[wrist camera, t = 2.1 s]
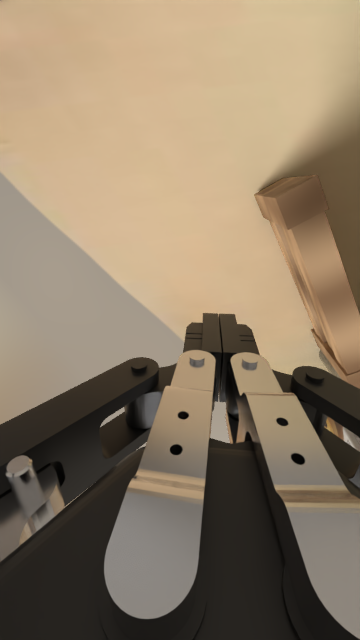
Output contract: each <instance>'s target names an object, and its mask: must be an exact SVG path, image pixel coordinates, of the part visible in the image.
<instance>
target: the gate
mask: <svg viewBox="0 0 360 640" xmlns="http://www.w3.org/2000/svg"><path fill="white" fill-rule="evenodd" d="M254 196H255V198H256V201H257V203H258V205H259V208H260V210H261V212H262V215H263V217H264V218H266V219H268V220H269V221H270V223H271V226H272V228H273V231H274V233H275V236H276V238H277V240H278V243H279V245H280V248H281V250H282V252H283V255H284V257H285V260H286V262H287V264H288V267H289V269H290V272H291V274H292V276H293V279H294V281H295V284H296V286H297V288H298V291H299V293H300V296H301V298H302V300H303V303H304V305H305V308H306V310H307V312H308V315H309V317H310V320H311V322H312V325H313V327H314V329H311V331H312V333H313V336H314V338H315V341H316V343H317V345H318V347H319V348H320V349H321V351H322V352H323V354H324V355H325V356H326V358H327V359H328V361H329V362H330V363H331V365H332V366H333V367H334V369H335V370H336V372H337V373H338V374H339V376H340V377H341V379H342V380H344V381H345V382H347V383H349V384H351V385H353V386H355V387H357V388H359V389H360V314H359V311H358V308H357V305H356V302H355V299H354V296H353V293H352V291H351V288H350V285H349V282H348V279H347V276H346V273H345V270H344V267H343V264H342V261H341V258H340V255H339V252H338V249H337V246H336V243H335V240H334V237H333V234H332V231H331V228H330V225H329V222H328V219H327V216H326V213H325V211H326V210H328V209H329V208H328V205H327V202H326V199H325V196H324V193H323V190H322V187H321V184H320V181H319V178H318V175H311V176H301V177H291V178H282V179H281V180H279V181H277V182H275V183H274V184H272V185H270V186H268V187H267V188H265V189H263V190H261V191H260V192H258V193H256V194H255V195H254Z"/></svg>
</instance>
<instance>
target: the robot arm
mask: <svg viewBox="0 0 360 640" xmlns="http://www.w3.org/2000/svg"><path fill="white" fill-rule="evenodd" d="M218 394H219V400H220V402H226V414H225V419H226V424H227V430H228V435H229V441H230V443H225V442H222V441H218V440H215V439H211V438H210V433H211V420H212V411H213V410H214V402H215V401H217V402H218ZM123 407H124V408H125V412H123V413H122V414H120V415H119V416H117V417H116V418H114V419H113V420H111V421H110V422H108V423H106V424H105V425H103V426H102V427H100V426H101V423H102V422H103V421H104V420H105V419H106V418H107V417H108V416H110V415H111V414H113V413H115V412H116V411H118V410H119V409H121V408H123ZM327 417H329V418H331V419H332V420H334V421H336V422H337V423H339V424H340V425H342V426H343V427H345V428H346V429H348V430H349V431H351V432H352V433H354V434H355V435H357V436H358V437H359V438H360V389H359V388H357V387H355V386H353V385H351V384H349V383H347V382H345V381H344V380H342V379H340V378H338V377H336V376H334V375H332V374H330V373H328V372H327V371H324V370H322V369H320V368H316V367H311V366H301V367H298V368H296V369H295V370H294V371H293V374H292V375H288V374H284V373H280V372H277V371H274V370H272V369H271V367H270V365H269V363H268V361H267V360H266V359H265V358H264V357H262V356H260V354H259V351H258V348H257V345H256V342H255V339H254V336H253V332H252V330H251V329H250V328H249V327H248V326H247V325H243V324H237V322H236V318H235V314H219V317H218V314H213V313H203V323H191V324H190V325H189V326H188V327H187V329H186V336H185V343H184V350H183V354H181V355H180V357H179V359H178V362H177V363H176V364H174V365H171V366H168V367H161V368H159V366H158V364H157V362H156V361H154V360H152V359H149V358H143V357H140V358H133V359H130V360H128V361H126V362H124V363H122V364H120V365H118V366H116V367H114V368H112V369H110V370H108V371H106V372H104V373H102V374H100V375H98V376H96V377H94V378H92V379H90V380H88V381H86V382H84V383H82V384H80V385H78V386H77V387H74V388H72V389H70V390H68V391H66V392H65V393H62V394H60V395H58V396H56V397H54V398H53V399H50V400H49V401H47V402H45V403H43V404H40V405H39V406H37V407H35V408H33V409H31V410H29V411H27V412H25V413H23V414H21V415H19V416H17V417H15V418H13V419H11V420H9V421H7V422H5V423H3V424H1V425H0V640H360V452H359V451H358V450H356V449H355V448H354V447H352V446H351V445H349V444H348V443H346V442H345V441H343V440H342V439H341V438H339V437H338V436H336V435H335V434H333V433H332V432H331V431H329V430H328V429H326V428H325V424H326V420H327ZM145 442H147V443H146V446H145V447H142V448H140V449H138V448H139V447H140V446H142V445H143V444H144V443H145ZM136 449H138V450H136ZM135 450H136V451H135ZM92 484H93V485H92ZM91 485H92V486H91ZM87 488H88V489H87ZM86 489H87V490H86ZM85 490H86V491H85ZM82 492H83V493H82ZM81 493H82V494H81ZM80 494H81V495H80ZM79 495H80V496H79ZM77 496H79V497H77ZM76 497H77V498H76ZM75 498H76V499H75ZM73 499H75V500H74V501H72V500H73ZM71 501H72V502H71ZM70 502H71V503H70ZM68 503H70V504H69V505H68V506H67V507H65V506H66V505H67V504H68ZM64 507H65V508H64Z"/></svg>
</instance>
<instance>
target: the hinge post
mask: <svg viewBox="0 0 360 640" xmlns="http://www.w3.org/2000/svg"><path fill="white" fill-rule="evenodd" d="M319 357H320V359H321V361H322V362H323V363H324V365H325V366H326V368H327V369H328V371H329V372H330V374H332V375H334V376H336V377H338V378H340V379H341V377H340V376H339V374H338V373H337V372H336V370H335V369H334V367H333V366H332V365H331V363H330V362H329V361H328V359H327V358H326V356H325V355H324V354H323V352H322V351H321V350H320V352H319Z"/></svg>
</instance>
